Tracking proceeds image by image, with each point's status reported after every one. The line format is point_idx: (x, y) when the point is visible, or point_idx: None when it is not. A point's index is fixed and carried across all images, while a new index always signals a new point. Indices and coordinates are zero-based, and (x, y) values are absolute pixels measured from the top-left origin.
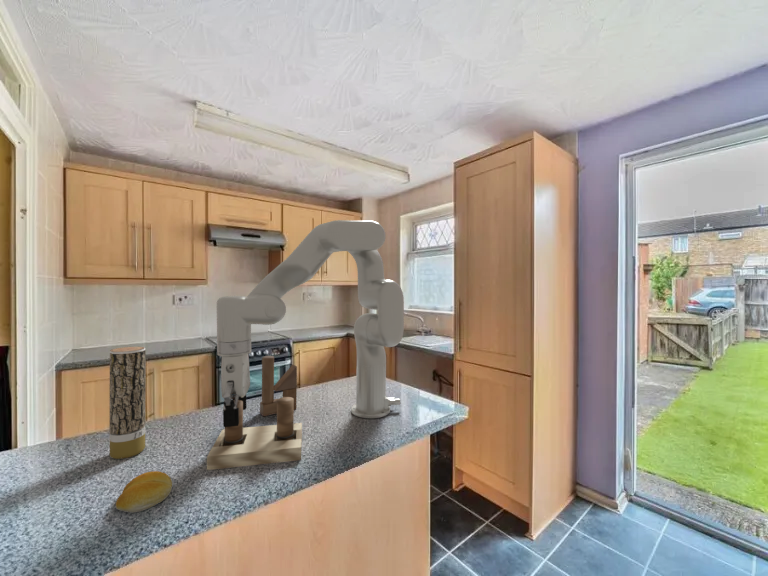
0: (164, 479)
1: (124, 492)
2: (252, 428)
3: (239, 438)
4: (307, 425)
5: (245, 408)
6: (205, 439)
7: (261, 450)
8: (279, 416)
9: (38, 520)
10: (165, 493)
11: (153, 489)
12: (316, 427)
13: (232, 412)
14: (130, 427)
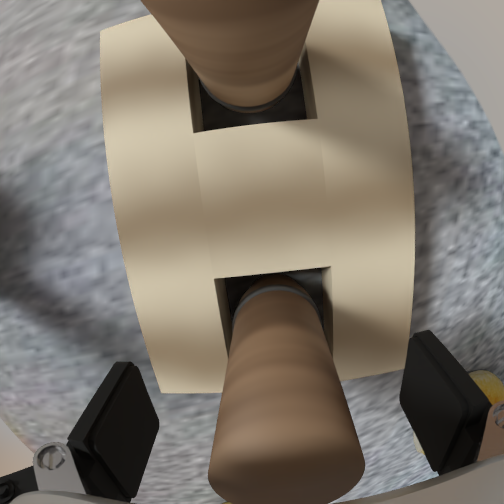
0: None
1: None
2: (145, 270)
3: (302, 299)
4: (53, 56)
5: (130, 366)
6: (165, 413)
7: (405, 161)
8: (302, 43)
9: None
10: (488, 376)
11: (501, 398)
12: (78, 16)
13: (487, 408)
14: None
